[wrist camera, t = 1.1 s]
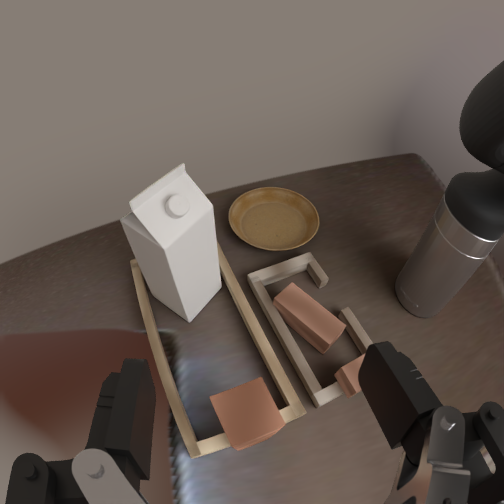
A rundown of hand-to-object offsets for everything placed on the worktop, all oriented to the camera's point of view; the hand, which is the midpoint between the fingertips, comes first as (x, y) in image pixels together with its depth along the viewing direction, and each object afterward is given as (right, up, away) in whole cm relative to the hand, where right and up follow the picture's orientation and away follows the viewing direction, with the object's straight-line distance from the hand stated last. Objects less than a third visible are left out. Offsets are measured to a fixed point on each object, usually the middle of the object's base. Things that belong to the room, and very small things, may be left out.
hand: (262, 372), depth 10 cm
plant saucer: (+3, +8, +40) cm, 41 cm away
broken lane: (+8, -6, +27) cm, 29 cm away
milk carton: (-9, -1, +31) cm, 32 cm away
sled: (-6, -7, +26) cm, 28 cm away
